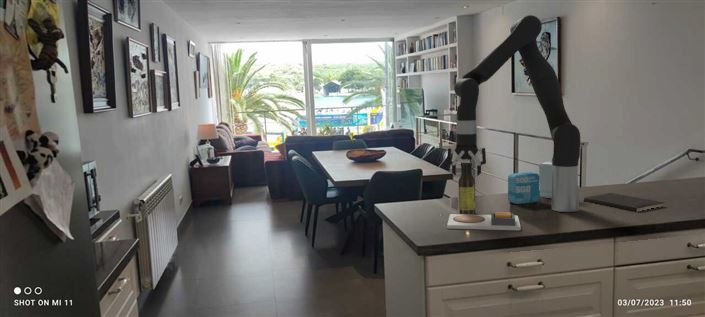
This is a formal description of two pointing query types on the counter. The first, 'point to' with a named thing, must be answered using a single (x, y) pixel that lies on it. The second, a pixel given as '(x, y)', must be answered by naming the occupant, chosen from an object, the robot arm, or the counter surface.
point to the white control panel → (483, 222)
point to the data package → (523, 188)
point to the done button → (502, 215)
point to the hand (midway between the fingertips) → (466, 175)
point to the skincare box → (545, 179)
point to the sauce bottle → (466, 190)
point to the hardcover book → (623, 202)
